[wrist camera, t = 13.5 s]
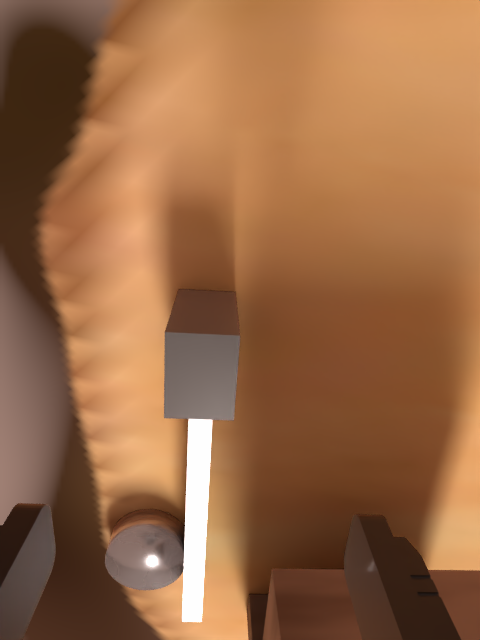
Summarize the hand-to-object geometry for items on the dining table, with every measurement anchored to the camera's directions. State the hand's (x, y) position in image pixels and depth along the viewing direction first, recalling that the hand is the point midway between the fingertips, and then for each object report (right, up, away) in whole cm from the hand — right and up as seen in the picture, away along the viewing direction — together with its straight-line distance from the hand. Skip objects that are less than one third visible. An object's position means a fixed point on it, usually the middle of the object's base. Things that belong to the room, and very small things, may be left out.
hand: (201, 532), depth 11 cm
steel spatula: (-1, -2, +15) cm, 15 cm away
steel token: (-5, -9, +17) cm, 20 cm away
